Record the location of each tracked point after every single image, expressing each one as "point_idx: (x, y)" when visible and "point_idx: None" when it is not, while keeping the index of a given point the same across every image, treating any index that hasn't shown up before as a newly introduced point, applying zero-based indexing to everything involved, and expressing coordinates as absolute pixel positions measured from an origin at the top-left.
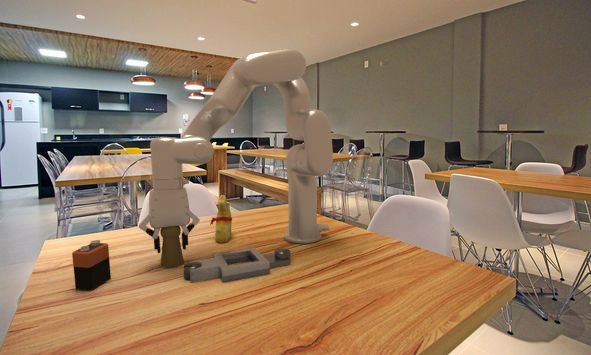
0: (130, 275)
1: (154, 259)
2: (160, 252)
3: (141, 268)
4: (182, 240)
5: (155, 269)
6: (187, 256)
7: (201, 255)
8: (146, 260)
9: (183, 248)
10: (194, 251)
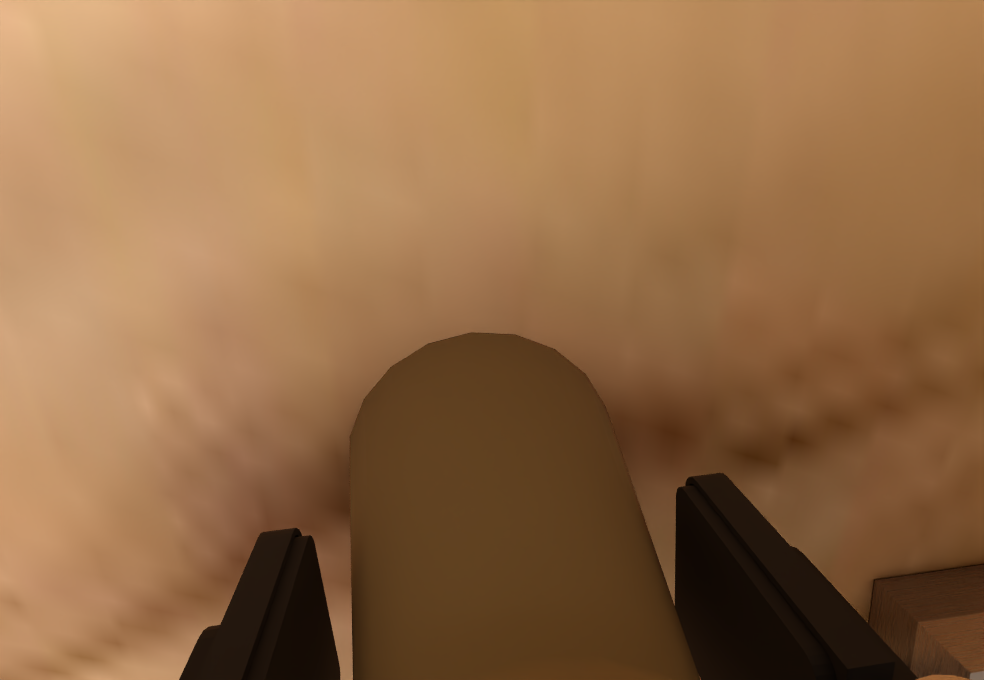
0: (60, 638)
1: (237, 236)
2: (339, 670)
3: (131, 492)
4: (737, 671)
5: None
6: (672, 268)
7: (838, 290)
8: (126, 239)
9: None
10: (791, 93)
